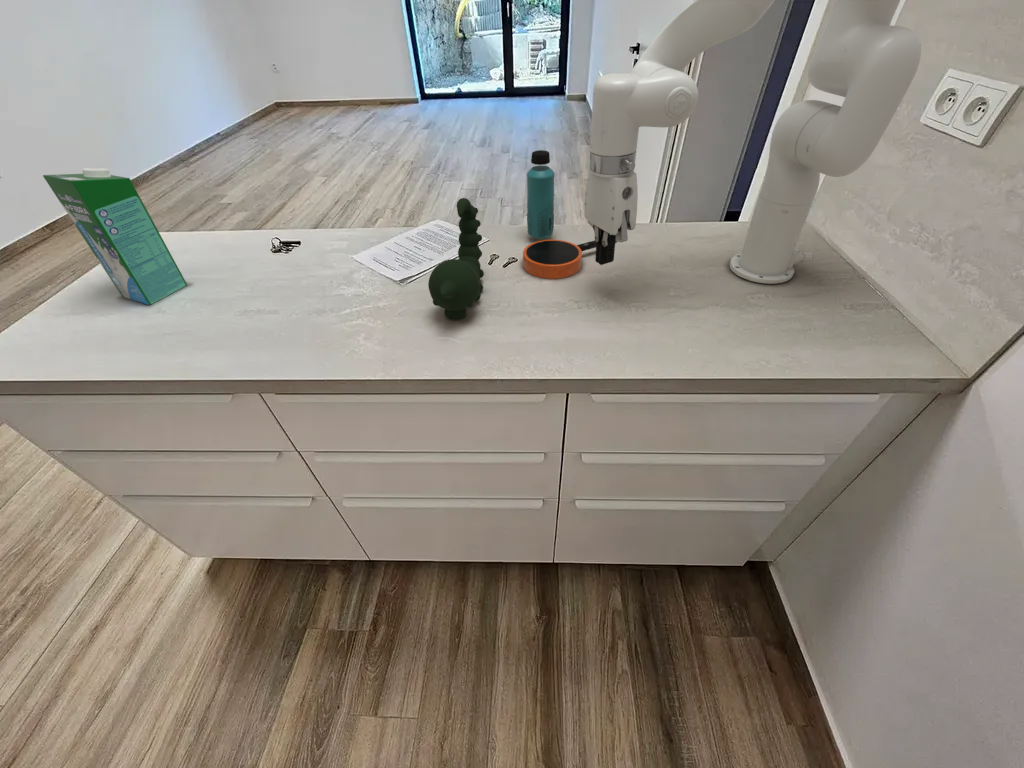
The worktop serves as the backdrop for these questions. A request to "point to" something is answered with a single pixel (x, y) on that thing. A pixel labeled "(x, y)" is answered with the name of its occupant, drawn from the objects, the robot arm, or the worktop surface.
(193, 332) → the worktop surface
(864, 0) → the robot arm
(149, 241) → the milk carton
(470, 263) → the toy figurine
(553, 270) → the pan
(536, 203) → the beverage bottle
